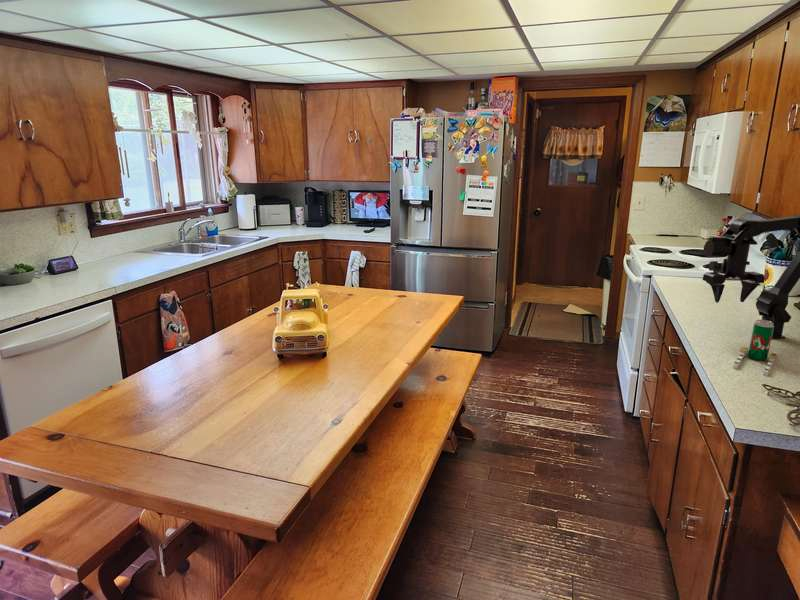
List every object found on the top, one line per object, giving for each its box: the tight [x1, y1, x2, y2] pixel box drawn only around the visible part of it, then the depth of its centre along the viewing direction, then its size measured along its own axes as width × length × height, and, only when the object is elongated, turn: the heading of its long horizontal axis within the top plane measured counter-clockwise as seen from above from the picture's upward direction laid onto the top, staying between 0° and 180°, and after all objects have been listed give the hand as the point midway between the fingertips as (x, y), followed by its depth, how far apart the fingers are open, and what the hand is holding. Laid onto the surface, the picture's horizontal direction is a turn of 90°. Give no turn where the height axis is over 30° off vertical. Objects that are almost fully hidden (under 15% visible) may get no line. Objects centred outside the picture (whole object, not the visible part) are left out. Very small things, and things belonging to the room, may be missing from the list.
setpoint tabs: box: [739, 347, 778, 361], centre depth 163 cm, size 2×10×1 cm, turn 49°
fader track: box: [732, 345, 778, 377], centre depth 160 cm, size 20×8×2 cm, turn 139°
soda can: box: [747, 319, 774, 362], centre depth 162 cm, size 5×5×12 cm
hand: (729, 302), depth 181 cm, fingers open, 9 cm apart
